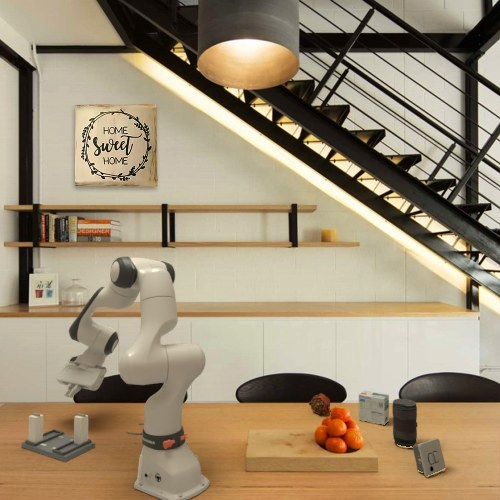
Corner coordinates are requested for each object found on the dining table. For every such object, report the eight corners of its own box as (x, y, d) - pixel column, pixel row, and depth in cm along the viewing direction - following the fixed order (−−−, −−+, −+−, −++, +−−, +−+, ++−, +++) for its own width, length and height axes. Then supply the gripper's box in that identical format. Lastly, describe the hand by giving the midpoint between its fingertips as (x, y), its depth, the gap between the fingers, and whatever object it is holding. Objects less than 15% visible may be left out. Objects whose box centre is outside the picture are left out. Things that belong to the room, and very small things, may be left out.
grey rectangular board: (95, 447, 145) (95, 440, 145) (65, 461, 135) (65, 454, 135) (52, 434, 155) (52, 428, 156) (21, 447, 145) (21, 440, 145)
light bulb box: (389, 421, 170) (389, 394, 170) (385, 426, 165) (385, 398, 165) (363, 415, 176) (363, 389, 176) (358, 420, 170) (358, 393, 171)
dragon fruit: (321, 422, 172) (316, 415, 184) (337, 409, 173) (331, 403, 185) (308, 404, 174) (304, 399, 185) (325, 392, 174) (320, 387, 186)
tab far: (42, 441, 146) (43, 413, 146) (35, 444, 143) (35, 415, 143) (36, 439, 147) (36, 411, 148) (28, 442, 145) (28, 414, 145)
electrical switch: (427, 479, 126) (424, 446, 126) (412, 473, 130) (410, 441, 131) (446, 471, 130) (444, 440, 131) (432, 465, 135) (429, 435, 136)
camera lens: (396, 437, 154) (396, 396, 154) (419, 443, 149) (419, 401, 150) (389, 445, 148) (389, 402, 148) (413, 452, 143) (413, 407, 143)
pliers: (134, 422, 166) (184, 425, 163) (134, 424, 166) (184, 427, 163) (124, 432, 156) (176, 436, 154) (124, 434, 156) (176, 438, 154)
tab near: (88, 441, 145) (88, 413, 146) (80, 445, 143) (81, 416, 143) (80, 439, 147) (81, 411, 147) (73, 443, 144) (74, 414, 145)
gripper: (113, 372, 163) (92, 405, 154) (76, 365, 173) (55, 396, 164) (104, 362, 159) (82, 396, 150) (67, 357, 169) (44, 388, 160)
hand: (67, 396), depth 157 cm, fingers closed
